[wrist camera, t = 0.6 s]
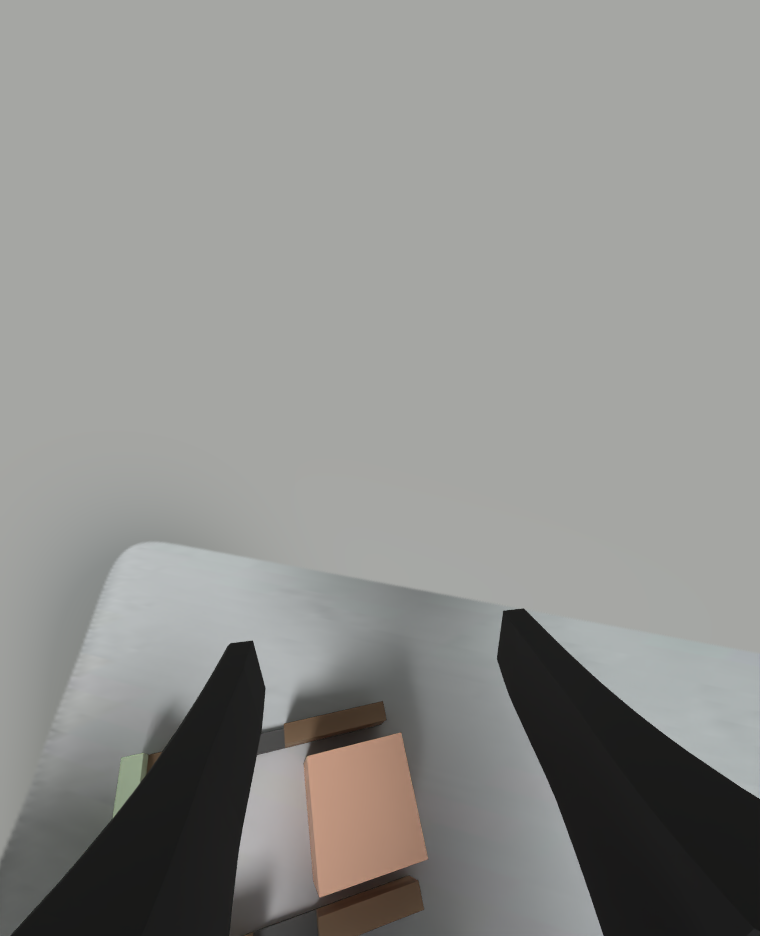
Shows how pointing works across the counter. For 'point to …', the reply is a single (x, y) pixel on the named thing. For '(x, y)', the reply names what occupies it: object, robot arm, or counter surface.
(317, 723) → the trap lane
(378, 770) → the terracotta block
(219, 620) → the counter surface
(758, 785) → the counter surface
